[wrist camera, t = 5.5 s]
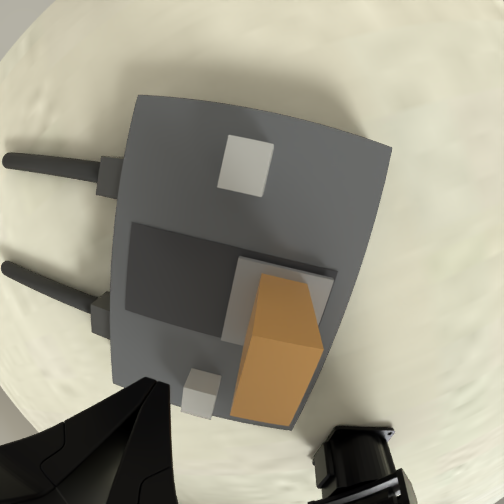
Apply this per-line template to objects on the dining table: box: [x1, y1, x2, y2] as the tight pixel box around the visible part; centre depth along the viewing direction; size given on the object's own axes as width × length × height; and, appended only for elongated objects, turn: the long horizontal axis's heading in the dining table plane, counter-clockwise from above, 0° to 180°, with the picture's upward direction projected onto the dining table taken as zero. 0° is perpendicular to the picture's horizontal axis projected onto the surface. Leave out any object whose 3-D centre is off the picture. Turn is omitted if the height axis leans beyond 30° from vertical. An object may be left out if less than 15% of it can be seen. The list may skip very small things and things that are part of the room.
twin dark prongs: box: [1, 153, 100, 314], centre depth 19 cm, size 15×11×1 cm
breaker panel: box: [91, 95, 392, 431], centre depth 17 cm, size 16×20×5 cm
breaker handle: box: [221, 256, 334, 426], centre depth 13 cm, size 5×5×6 cm
